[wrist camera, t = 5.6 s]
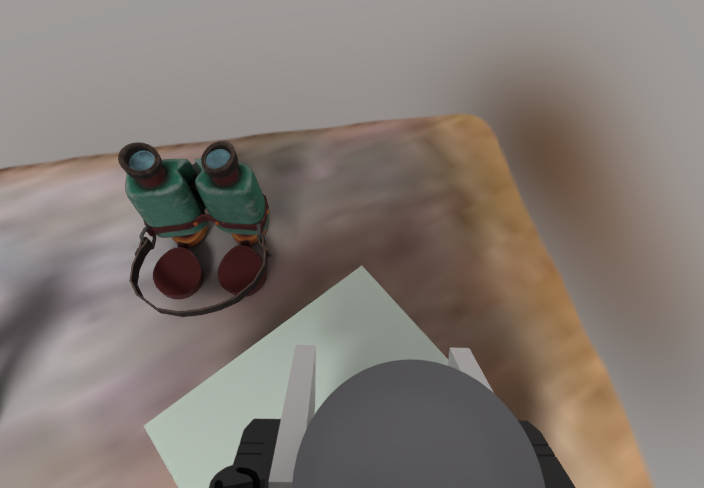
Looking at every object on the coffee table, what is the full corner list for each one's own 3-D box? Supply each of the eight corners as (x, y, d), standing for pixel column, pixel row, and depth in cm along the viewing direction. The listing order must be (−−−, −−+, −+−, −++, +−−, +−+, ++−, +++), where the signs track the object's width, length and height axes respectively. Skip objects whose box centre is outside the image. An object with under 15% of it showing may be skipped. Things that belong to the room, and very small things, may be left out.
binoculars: (69, 285, 22) (103, 121, 26) (151, 330, 32) (166, 206, 35) (253, 278, 22) (259, 118, 26) (277, 325, 32) (279, 203, 36)
